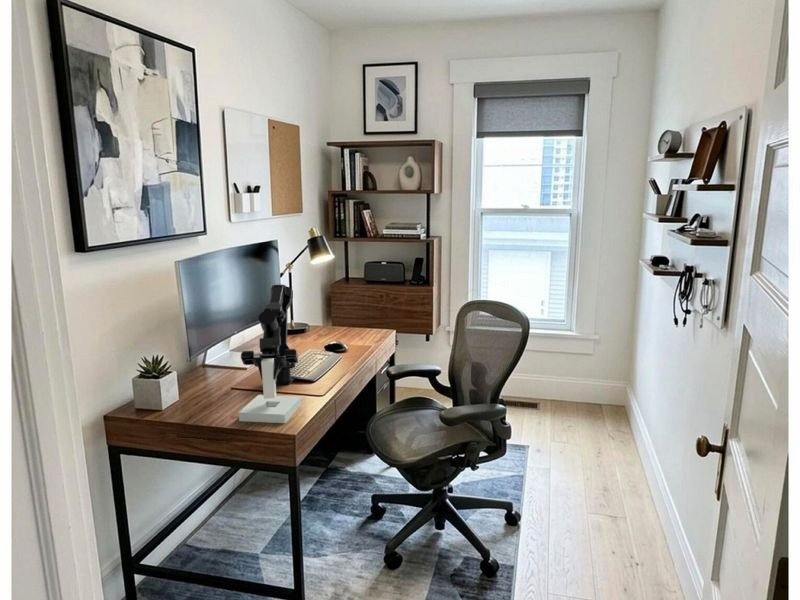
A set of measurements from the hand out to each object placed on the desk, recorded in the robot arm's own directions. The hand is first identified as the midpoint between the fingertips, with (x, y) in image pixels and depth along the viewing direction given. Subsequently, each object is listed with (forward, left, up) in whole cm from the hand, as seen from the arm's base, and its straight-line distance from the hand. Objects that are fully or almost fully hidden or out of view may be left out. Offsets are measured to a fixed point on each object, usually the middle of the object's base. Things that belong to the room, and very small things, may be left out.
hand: (268, 379), depth 179 cm
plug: (-1, 0, -7) cm, 7 cm away
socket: (-1, 0, -12) cm, 13 cm away
